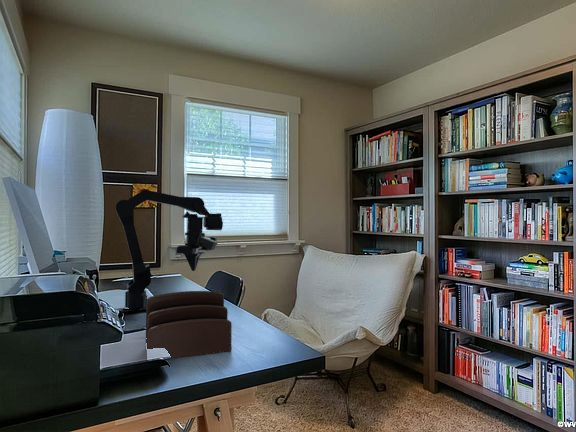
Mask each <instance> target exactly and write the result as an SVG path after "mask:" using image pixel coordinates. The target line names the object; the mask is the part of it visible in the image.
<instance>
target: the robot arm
mask: <svg viewBox="0 0 576 432" xmlns="http://www.w3.org/2000/svg"><path fill="white" fill-rule="evenodd" d="M146 201H148V202H153V203H159V204H164V205H168V206H172V207H178V208H180V209H183V210H186V212H185V213H184V214H183V215H181V216H182V217H181V218H183V219H187V222H186V223H187V224H186V225H187V226H186V232H184V236H186V243H184V244H182V245H178V246H177V247H176V252H175V253H176V254H181V255H182V254H183V255H184V256H185V259H186V260H187V263H188V265H189V268H190V270H191V271H192V272H195V271H197V266H198V263H199V259H200V257H201V256H203V255H204V254H205V252H204V251H212V250H215V249H216V246H218V241H217V237H215V236H211V237H206V234H205V232H203V229H204V228H205V230H206V231H222V229H223V227H224V221H223V217H222V213H219V212H217V213H211V212H209V211H208V209H207V208H206V206H205V201H204V200H203V198H202V197H199V196H178V195H174V194H173V195H172V194H168V193H164V192H163V193H162V192H158V191H154V190H149V189H145V188H144V189H142V190H141V191H139V192H138V193H137V194H135V195H133V196H132V197H129V198H128V199H120V200H119V201H117V203H115V206H114V207H115V212H116V215H117V217H118V218H119V221H120V223H121V225H122V227H123V231H124V235H125V239H126V243H127V246H128V247H127V248H128V251H129V254H130V259H131V262H132V263H131V265H132V279H131V280H129V282H128V283H127V284H126V288H127V291H125V292H124V294H125V295H124V308H125V307H128V308H129V310H128V311H135V312H136V311H142V310H144V309H146V308H145V307H146V302H147V299H148V295H147V291H146V288H148V287H149V286H150V284H151V283H152V278H153V275H152V273H151V266H150V264H149V263H148V264H146V263H144V259H143V256H142V251H141V247H140V243H139V240H138V235H137V231H136V228H135V227H136V226H135V218H134V217H135V213H134V212H135V211H134V209H135V208H136V207H138V206H139V205H141V204H142V203H145V202H146ZM190 212H191V213H190ZM143 308H144V309H143Z"/></svg>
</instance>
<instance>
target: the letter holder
mask: <svg viewBox="0 0 576 432" xmlns="http://www.w3.org/2000/svg"><path fill="white" fill-rule="evenodd" d="M145 309H146V310H145V311H146V314H145V315H146V317H145V342H146V343H147V349H153V348H165V349H166V350H167V351H168V353H169V354H170V356H171V359H170V360H173V359H172V358H174V359H178V358H179V359H180V358H189V357H196V356H204V355H206V356H207V355H212V354H221V353H231V352H232V347H233V346H232V339H233V338H232V335H233V333H232V331H233V329H232V326H233V325H232V321H231V320H228V316H229V315H228V312H229V311H228V308H227V307H226V306H225V295H224V293H223V292H219V291H211V290H210V291H209V290H186V291H176V292H169V293H168V292H167V293H161V294H156V295H151V296H149V297H147V302H146V308H145ZM146 338H147V339H146ZM146 343H145V344H146Z"/></svg>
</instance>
